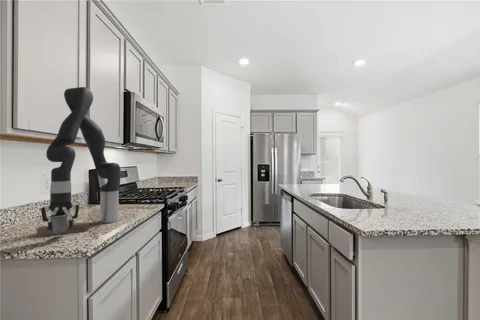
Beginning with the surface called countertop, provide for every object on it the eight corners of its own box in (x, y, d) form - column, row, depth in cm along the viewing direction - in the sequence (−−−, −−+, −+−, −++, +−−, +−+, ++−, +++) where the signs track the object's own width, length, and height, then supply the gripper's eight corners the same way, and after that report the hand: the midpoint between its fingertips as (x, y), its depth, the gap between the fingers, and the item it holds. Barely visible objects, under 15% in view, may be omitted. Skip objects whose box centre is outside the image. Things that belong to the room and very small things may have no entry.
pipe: (77, 227, 118) (77, 210, 118) (59, 235, 105) (60, 216, 105) (64, 227, 118) (64, 210, 118) (44, 235, 105) (45, 216, 105)
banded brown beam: (38, 234, 116) (38, 226, 116) (88, 228, 127) (88, 221, 127) (36, 236, 113) (36, 228, 113) (88, 230, 123) (88, 223, 123)
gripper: (80, 189, 117) (80, 225, 117) (41, 191, 110) (41, 229, 110) (80, 191, 111) (79, 229, 111) (38, 193, 103) (38, 233, 103)
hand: (60, 229), depth 110 cm, fingers closed on pipe, 6 cm apart
